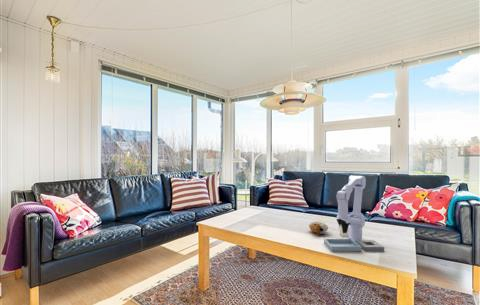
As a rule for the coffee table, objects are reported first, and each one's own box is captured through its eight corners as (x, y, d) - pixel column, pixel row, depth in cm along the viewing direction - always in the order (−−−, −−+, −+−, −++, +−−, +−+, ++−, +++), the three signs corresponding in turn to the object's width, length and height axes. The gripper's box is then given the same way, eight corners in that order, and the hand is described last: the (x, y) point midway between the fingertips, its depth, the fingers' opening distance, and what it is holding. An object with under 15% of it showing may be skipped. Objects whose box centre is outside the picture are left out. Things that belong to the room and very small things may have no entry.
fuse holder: (355, 243, 157) (355, 240, 157) (373, 244, 157) (373, 240, 157) (364, 251, 145) (364, 246, 145) (384, 251, 145) (384, 247, 145)
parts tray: (323, 243, 159) (323, 238, 159) (351, 243, 158) (351, 238, 158) (331, 251, 145) (331, 246, 145) (361, 251, 144) (361, 246, 144)
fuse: (339, 235, 154) (339, 224, 154) (345, 235, 153) (345, 224, 154) (342, 237, 150) (342, 226, 150) (348, 237, 149) (348, 226, 150)
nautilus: (323, 240, 166) (302, 237, 175) (331, 230, 184) (312, 228, 193) (322, 228, 166) (301, 226, 175) (330, 220, 184) (311, 218, 193)
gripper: (332, 207, 159) (332, 228, 159) (341, 212, 145) (341, 235, 144) (343, 207, 159) (343, 228, 159) (352, 212, 145) (353, 235, 144)
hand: (343, 231), depth 152 cm, fingers closed on fuse, 4 cm apart
